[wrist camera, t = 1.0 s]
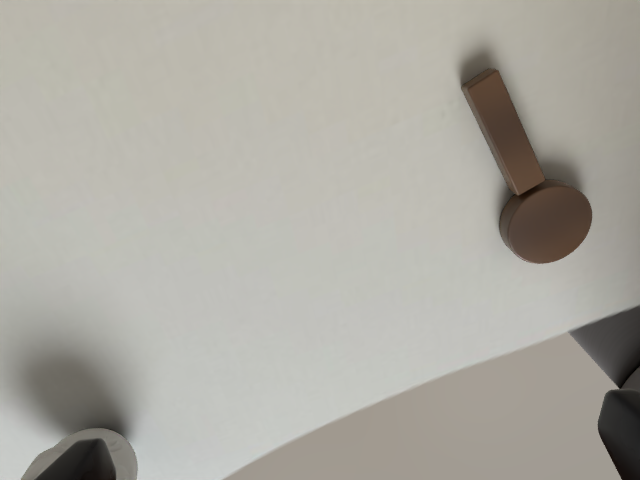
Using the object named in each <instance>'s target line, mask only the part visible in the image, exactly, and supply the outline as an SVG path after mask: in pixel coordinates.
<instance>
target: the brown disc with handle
mask: <svg viewBox="0 0 640 480" xmlns="http://www.w3.org/2000/svg"><path fill="white" fill-rule="evenodd" d="M461 89H462V91H463V93H464V95H465V97H466V99H467V101H468V103H469V105H470V108H471V110H472V112H473V114H474V116H475V118H476V120H477V122H478V124H479V126H480V129H481V131H482V133H483V135H484V137H485V139H486V141H487V143H488V145H489V147H490V150H491V152H492V154H493V156H494V158H495V160H496V162H497V164H498V166H499V168H500V171H501V173H502V175H503V177H504V179H505V181H506V183H507V185H508V187H509V189H510V190H511V191H512V192H514V193H515V195H514V196H513V197H512V198H511V199H510V200H509V201H508V203H507V204H506V206H505V208H504V210H503V212H502V215H501V219H500V233H501V237H502V239H503V241H504V243H505V244H506V245H507V246H508V248H509V249H510V250H511V251H512V252H513V253H514V254H515V255H517V256H518V257H519V258H521V259H522V260H524V261H527V262H531V263H537V264H543V263H550V262H554V261H557V260H559V259H562V258H564V257H565V256H567V255H569V254H570V253H571V252H573V251H574V250H575V249H576V248H577V247H578V246H579V245H580V244H581V243H582V242H583V240H584V239H585V237H586V236H587V234H588V232H589V229H590V226H591V222H592V209H591V206H590V203H589V201H588V199H587V198H586V197H585V195H584V194H583V193H582V192H580V191H579V190H577V189H575V188H574V187H572V186H570V185H568V184H566V183H564V182H561V181H558V180H545V177H544V175H543V172H542V170H541V168H540V165H539V163H538V161H537V159H536V156H535V154H534V152H533V149H532V147H531V145H530V142H529V140H528V138H527V135H526V133H525V131H524V129H523V126H522V124H521V122H520V119H519V117H518V115H517V112H516V110H515V108H514V105H513V103H512V101H511V99H510V96H509V94H508V92H507V89H506V87H505V85H504V82H503V80H502V78H501V75H500V73H499V71H498V70H496V69H491V68H490V69H487V70H486V71H484V72H483V73H481V74H479V75H478V76H476V77H475V78H473V79H472V80H470V81H468V82H467V83H465V84H464V85H462V87H461Z"/></svg>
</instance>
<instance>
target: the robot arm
mask: <svg viewBox="0 0 640 480" xmlns="http://www.w3.org/2000/svg"><path fill="white" fill-rule="evenodd" d="M598 431H599V434H600V437H601V439H602V441H603V443H604V445H605V447H606V449H607V451H608V453H609V455H610V457H611V459H612V461H613V463H614V465H615V467H616V469H617V471H618V473H619V475H620V476H621V479H622V480H640V392H638V391H636V390H634V389H619V390H618V389H617V390H610V391H608V392H607V393H606V395H605V397H604V401H603V405H602V408H601V413H600V416H599V420H598ZM34 480H116V468H115V465H114V463H113V460H112V457H111V455H110V452H109V450H108V447H107V444H106V442H105V441H104V440H103V439H102V438H91V439H81V440H78V441H77V442H75V443H74V444H73V445H71V446H70V447H69V448H68V449H67V450H66V451H65V452H64V453H63V454H62V455H60V456H59V457H58V458H57V459H56V460H55V461H54V462H53V463H52V464H51V465H49V466H48V467H47V468H46V469H45V470H44V471H43V472H42V473H41V474H40V475H39V476H37V477H36V478H35V479H34Z"/></svg>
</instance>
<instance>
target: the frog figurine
mask: <svg viewBox="0 0 640 480" xmlns="http://www.w3.org/2000/svg"><path fill="white" fill-rule="evenodd" d="M91 438H102V439H103V440H104V441H105V442H106V444H107V447H108V450H109V452H110V455H111V457H112V460H113V463H114V465H115V468H116V480H137V473H138V466H137V459H136V455H135V452H134V450H133V448H132V446H131V445H130V443H129V442H128V441H127V440H126V439H125V438H124V437H123V436H121V435H120V434H118V433H116V432H114V431H112V430H108V429H103V428H91V429H85V430H81V431H78V432H76V433H73V434H71V435H69V436H68V437H66V438H64V439H63V440H62V441H60V442H59V443H58V444H57V445H55V446H54V447H53V448H50V449H48V450H46V451H44V452H42V453H40V454H39V455H38V456H37V457H36V458H35V459H34V461H33V462H32V463H31V465H30V466H29V468H28V469H27V471H26V472H25V474H24V475H23V476H22V478H21V480H34V479H35V478H36V477H37V476H39V475H40V474H41V473H42V472H43V471H44V470H45V469H46V468H47V467H48V466H49V465H51V464H52V463H53V462H54V461H55V460H56V459H57V458H58V457H59V456H60V455H62V454H63V453H64V452H65V451H66V450H67V449H68V448H69V447H70V446H71V445H73V444H74V443H75V442H77V441H78V440H81V439H91Z"/></svg>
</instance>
